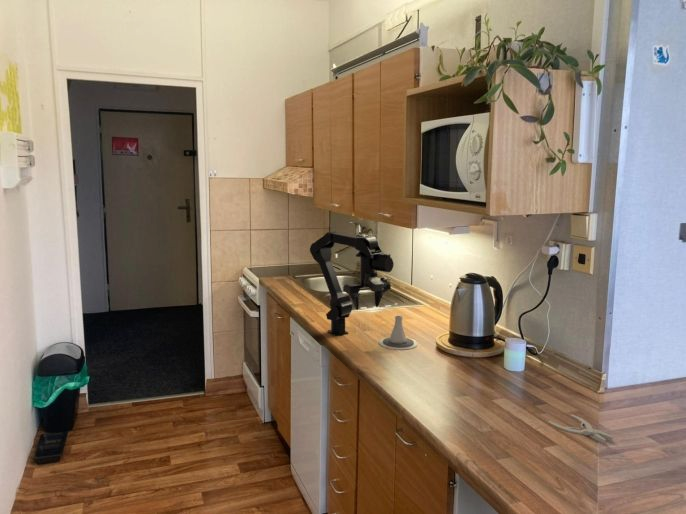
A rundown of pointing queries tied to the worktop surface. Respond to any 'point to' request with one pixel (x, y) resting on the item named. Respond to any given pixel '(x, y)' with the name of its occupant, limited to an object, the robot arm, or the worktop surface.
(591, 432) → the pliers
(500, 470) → the worktop surface
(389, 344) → the coaster
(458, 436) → the worktop surface
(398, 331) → the flask
